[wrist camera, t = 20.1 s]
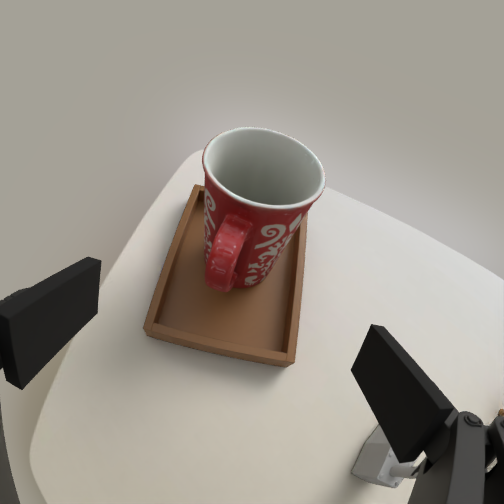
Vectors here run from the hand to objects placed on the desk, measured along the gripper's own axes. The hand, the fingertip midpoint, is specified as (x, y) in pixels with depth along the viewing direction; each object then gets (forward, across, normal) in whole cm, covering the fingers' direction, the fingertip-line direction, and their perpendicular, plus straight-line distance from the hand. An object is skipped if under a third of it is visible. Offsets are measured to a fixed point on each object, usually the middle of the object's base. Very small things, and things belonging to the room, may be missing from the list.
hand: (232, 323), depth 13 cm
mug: (+18, 0, -3) cm, 18 cm away
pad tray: (+18, 0, -3) cm, 18 cm away
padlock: (+6, +18, -15) cm, 24 cm away
